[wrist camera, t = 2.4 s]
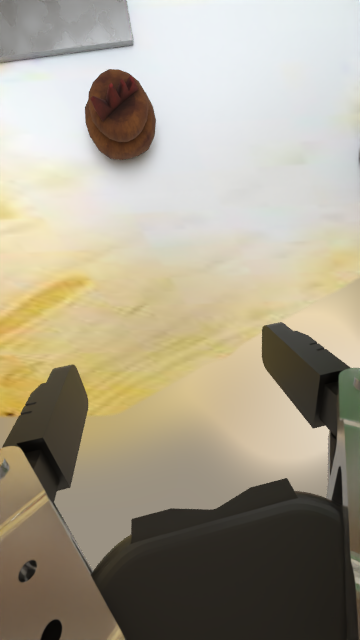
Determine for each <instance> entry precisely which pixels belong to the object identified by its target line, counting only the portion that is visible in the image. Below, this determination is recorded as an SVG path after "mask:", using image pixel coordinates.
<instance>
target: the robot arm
mask: <svg viewBox="0 0 360 640" xmlns="http://www.w3.org/2000/svg"><path fill="white" fill-rule="evenodd" d="M262 359H263V363H264V366H265V368H266V370H267V371H268V372H269V373H270V375H271V376H272V377H273V379H274V380H275V381H276V382H277V384H278V385H279V386H280V387H281V389H282V390H283V391H284V392H285V394H286V395H287V396H288V397H289V399H290V400H291V401H292V402H293V404H294V405H295V406H296V408H297V409H298V410H299V411H300V413H301V414H302V415H303V416H304V418H305V419H306V420H307V421H308V423H309V424H310V425H311V426H312V428H317V427H321V426H325V425H326V426H327V428H328V429H329V430H330V431H329V436H328V486H327V497H326V498H324V497H322V496H318V495H315V494H311V493H306V492H299V491H294V490H293V488H292V486H291V485H290V483H289V481H288V479H287V478H285V479H282V480H278V481H274V482H270V483H266V484H263V485H259V486H255V487H251V488H249V489H248V490H246V491H244V492H243V493H241V494H240V495H238V496H236V497H235V498H233V499H231V500H230V501H229V502H227V503H225V504H224V505H222V506H220V507H218V508H217V509H214V510H201V509H200V510H199V509H168V510H164V511H161V512H157V513H153V514H149V515H146V516H142V517H138V518H134V519H132V528H131V529H132V532H131V535H130V536H128V537H126V538H125V539H124V540H123V541H121V542H120V543H118V544H117V545H116V546H115V547H114V548H113V549H112V550H111V551H110V552H109V553H108V554H107V555H106V556H105V557H104V558H103V559H102V561H101V562H100V563H99V564H98V565H97V567H96V568H95V569H94V571H93V569H92V567H91V566H90V564H89V562H88V561H87V559H86V557H85V556H84V554H83V552H82V550H81V549H80V547H79V545H78V543H77V542H76V540H75V538H74V537H73V535H72V533H71V531H70V529H69V528H68V526H67V524H66V522H65V521H64V519H63V517H62V515H61V514H60V512H59V510H58V508H57V507H56V505H55V503H54V500H55V495H56V492H57V491H58V490H62V489H66V488H70V486H71V482H72V477H73V472H74V468H75V463H76V459H77V454H78V451H79V446H80V442H81V437H82V433H83V428H84V424H85V419H86V415H87V411H88V398H87V394H86V391H85V388H84V386H83V383H82V381H81V378H80V376H79V373H78V370H77V368H76V367H75V365H68V366H64V367H59V368H54V369H53V370H52V372H51V374H50V376H49V378H48V380H47V382H46V383H42V384H41V385H40V386H39V387H38V388H37V389H36V390H35V391H34V392H32V393H31V395H30V397H29V399H28V401H27V402H26V404H25V405H26V406H25V407H24V408H23V410H22V412H21V415H20V416H19V417H18V419H17V421H16V423H15V425H14V426H13V428H12V430H11V432H10V434H9V436H8V438H7V439H6V441H5V443H4V445H3V447H2V448H1V449H0V640H360V368H350V367H349V366H347V365H346V364H345V363H344V362H342V361H341V360H340V359H338V358H337V357H335V356H334V355H333V354H332V353H330V352H329V351H328V350H327V349H324V347H322V346H321V345H320V344H317V342H316V341H314V340H313V339H312V338H311V337H309V336H308V335H305V334H303V333H300V332H298V331H292V330H291V329H290V328H289V327H287V326H286V325H285V324H284V323H282V322H280V323H275V324H270V325H265V326H263V329H262Z"/></svg>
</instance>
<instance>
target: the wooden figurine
mask: <svg viewBox="0 0 360 640" xmlns="http://www.w3.org/2000/svg"><path fill="white" fill-rule="evenodd" d="M85 118H86V125H87V128H88V132H89V135H90V137H91V138H92V140H93V141H94V143H95V145H96V146H97V148H98V149H99V150H100V151H101V152H102V153H103V154H105V155H106V156H107V157H109V158H110V159H119V160H123V159H130V158H133V157H136V156H139V155H140V154H142V153H143V152H145V151H147V150H148V149H149V147H150V145H151V142H152V140H153V138H154V134H155V123H156V119H155V115H154V110H153V106H152V104H151V102H150V100H149V98H148V96H147V95H146V93H145V92H144V90H143V88H142V86H141V85H140V83H139V81H137V80H136V79H135V78H134V77H132V75H130V74H129V73H126V72H124V71H121V70H112V69H109V70H107V71H105V72H103V73H102V74H100V75H99V77H98V78H97V79H96V80H95V81H94V82H93V84H92V86H91V89H90V91H89V100H88V102H87V104H86V107H85Z"/></svg>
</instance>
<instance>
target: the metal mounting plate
mask: <svg viewBox="0 0 360 640" xmlns="http://www.w3.org/2000/svg"><path fill="white" fill-rule="evenodd" d="M130 45H133V36H132V31H131V25H130V19H129V14H128V8H127V2H126V0H0V63H1V62H9V61H16V60H24V59H31V58H39V57H47V56H54V55H62V54H69V53H77V52H84V51H92V50H100V49H107V48H115V47H122V46H130Z"/></svg>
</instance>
